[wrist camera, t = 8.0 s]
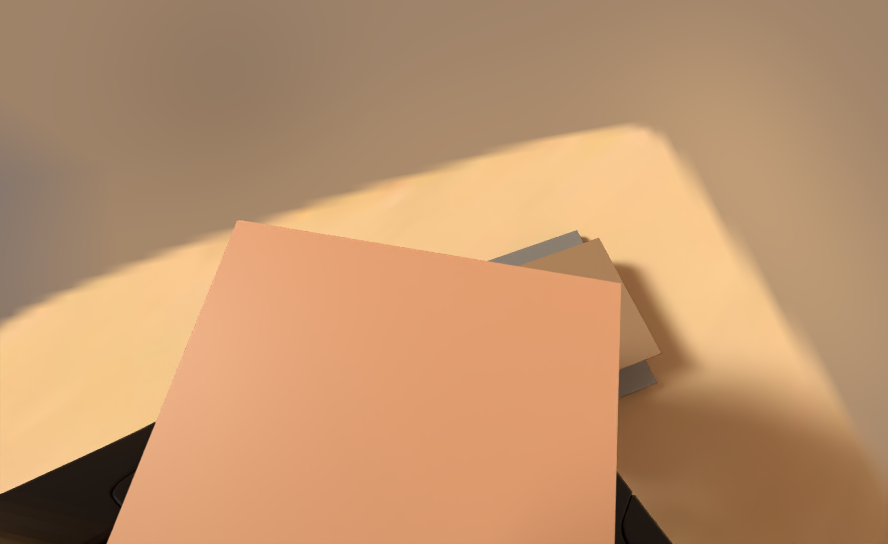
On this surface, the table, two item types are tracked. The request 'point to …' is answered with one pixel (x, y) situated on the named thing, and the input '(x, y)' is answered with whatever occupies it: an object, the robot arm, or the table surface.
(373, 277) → the wooden post
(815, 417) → the table surface
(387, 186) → the table surface
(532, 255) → the rail
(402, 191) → the table surface
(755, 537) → the table surface
